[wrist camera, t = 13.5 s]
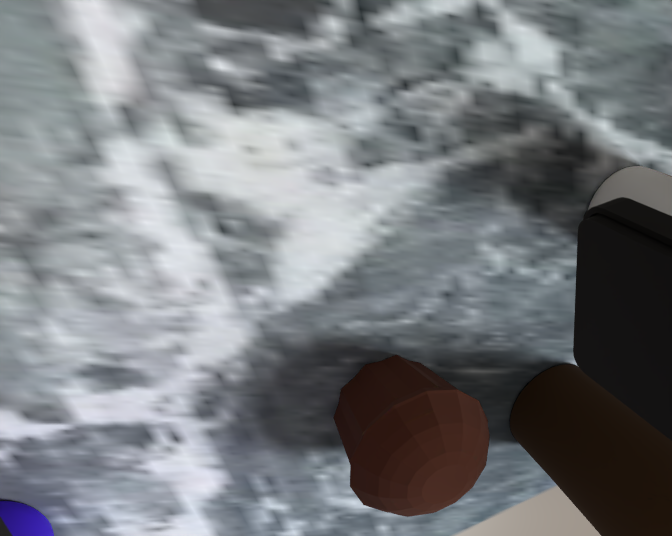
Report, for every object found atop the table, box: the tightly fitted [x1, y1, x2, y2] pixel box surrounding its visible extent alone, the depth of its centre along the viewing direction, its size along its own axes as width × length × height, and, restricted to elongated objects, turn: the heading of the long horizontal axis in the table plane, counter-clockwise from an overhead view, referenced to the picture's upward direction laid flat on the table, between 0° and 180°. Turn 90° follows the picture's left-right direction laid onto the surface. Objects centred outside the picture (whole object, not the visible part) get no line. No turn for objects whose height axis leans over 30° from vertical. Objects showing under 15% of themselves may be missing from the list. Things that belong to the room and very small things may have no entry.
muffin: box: [334, 355, 490, 517], centre depth 48 cm, size 12×11×10 cm
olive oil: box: [510, 364, 672, 536], centre depth 51 cm, size 11×11×25 cm
